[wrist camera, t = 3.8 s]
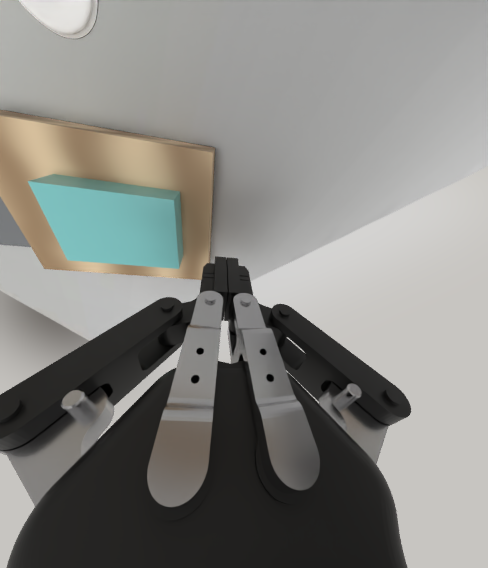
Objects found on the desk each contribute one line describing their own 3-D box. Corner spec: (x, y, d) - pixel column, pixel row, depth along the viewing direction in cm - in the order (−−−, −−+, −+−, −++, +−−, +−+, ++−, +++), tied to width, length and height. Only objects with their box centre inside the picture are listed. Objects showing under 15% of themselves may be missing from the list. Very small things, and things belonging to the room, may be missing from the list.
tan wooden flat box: (215, 147, 17) (213, 152, 14) (209, 260, 24) (207, 280, 21) (4, 110, 15) (-56, 106, 11) (69, 248, 22) (44, 268, 19)
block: (180, 191, 15) (173, 200, 14) (183, 255, 19) (179, 268, 17) (53, 173, 14) (27, 181, 12) (83, 246, 18) (67, 260, 16)
